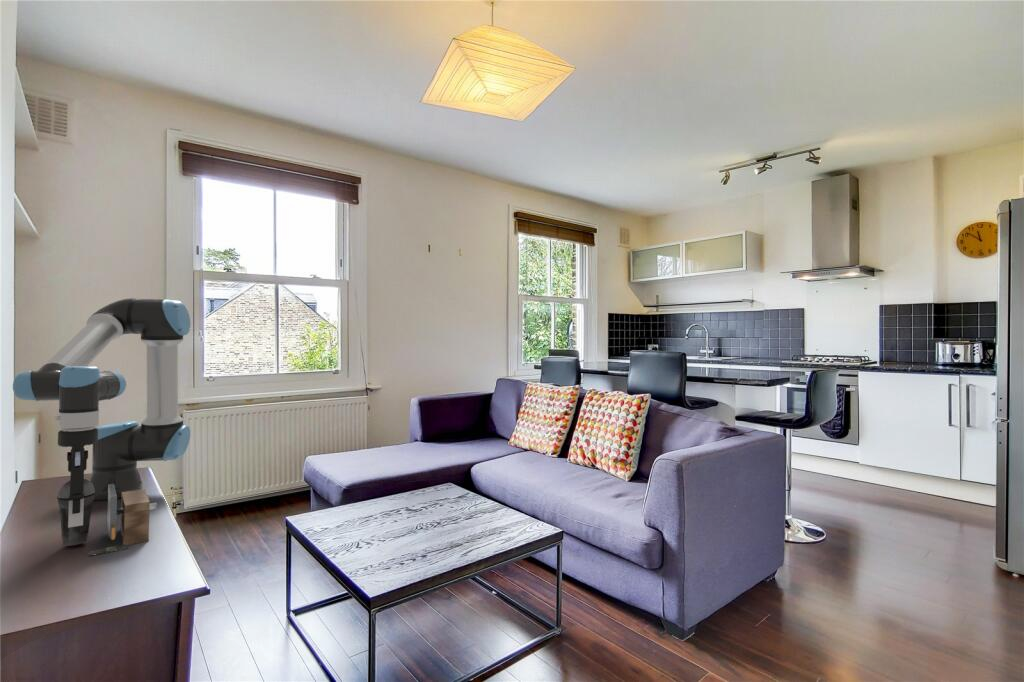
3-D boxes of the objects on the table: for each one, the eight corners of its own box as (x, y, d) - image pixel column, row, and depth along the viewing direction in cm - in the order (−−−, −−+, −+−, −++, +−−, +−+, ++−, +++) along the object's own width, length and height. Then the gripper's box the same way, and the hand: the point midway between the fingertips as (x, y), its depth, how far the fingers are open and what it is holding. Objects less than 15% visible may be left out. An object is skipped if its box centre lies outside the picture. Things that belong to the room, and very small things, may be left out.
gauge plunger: (109, 540, 122) (111, 499, 122) (107, 522, 134) (108, 484, 134) (160, 531, 128) (161, 491, 128) (153, 514, 140) (154, 478, 140)
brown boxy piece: (88, 556, 118) (89, 513, 118) (87, 535, 131) (89, 496, 131) (149, 544, 126) (150, 504, 126) (143, 525, 139) (144, 489, 139)
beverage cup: (101, 539, 126) (103, 459, 127) (67, 549, 119) (70, 465, 120) (81, 534, 129) (84, 456, 129) (47, 545, 122) (50, 462, 122)
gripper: (59, 424, 129) (56, 513, 129) (56, 436, 114) (53, 537, 114) (97, 422, 134) (94, 507, 134) (99, 433, 119) (96, 529, 119)
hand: (75, 521), depth 124 cm, fingers closed on beverage cup, 7 cm apart
